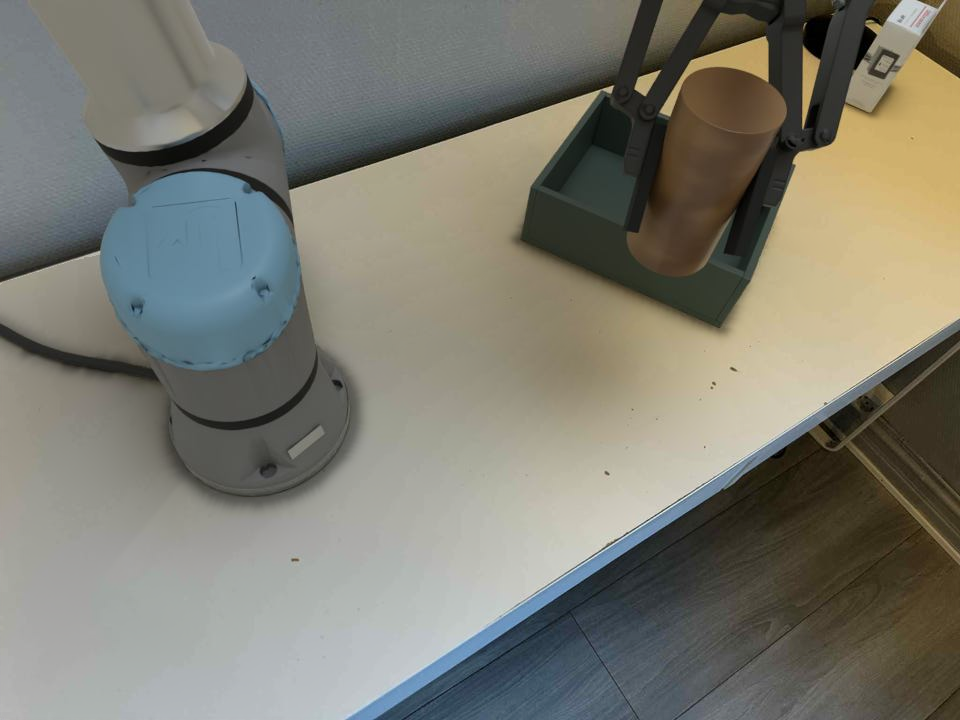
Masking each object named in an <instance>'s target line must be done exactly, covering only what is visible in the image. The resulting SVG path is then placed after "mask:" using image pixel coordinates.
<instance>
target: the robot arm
mask: <svg viewBox="0 0 960 720" xmlns="http://www.w3.org/2000/svg"><path fill="white" fill-rule="evenodd" d="M876 1H877V0H830V3H831V5H832V7H833V8H835V11H834V13H833V14H832V17H831V20H830V22H829V25H828V28H827V32H826V36H825V40H824V44H823V47H822V51H821V56H820V60H819V63H818V67H817V71H816V76H815V79H814V83H813V87H812V92H811V96H810V100H809V104H808V108H807V112H806V116H805V120H804V125H803V99H804V95H803V93H804V92H803V91H804V89H803V88H804V87H803V86H804V85H803V84H804V26H805V24H806V21H807V0H702V1H701V3H700V4H699V6H698V8H697V9H696V11H695V13H694V14H693V16H692V18H691V20H690V21H689V23H688V25H686V28H685V29H684V31H683V33H682V34H681V36H680V38H679V40H678V41H677V42H676V44H675V46H674V47H673V50H671V53H670V54H669V56H668V58H667V60H666V61H665V63H664V65H663V66H662V68H661V70H659V73H658V74H657V76H656V78H655V79H654V80H653V83H652V84H651V86H650V87H649V90H647V92H646V94H645V95H644V94H643V93H641V92H640V91H638V90H637V89H635V88H636V86H637V83H638V79H639V76H640V73H641V71H642V68H643V64H644V61H645V58H646V56H647V55H646V54H647V51H648V48H649V45H650V42H651V40H652V36H653V34H654V31H655V28H656V24H657V21H658V19H659V15H660V12H661V8H662V7H663V4H664V3H663V2H664V0H640V2H639V4H638V5H639V6H638V7H637V8H638V9H637V12H636V14H635V17H634V18H635V19H634V21H633V25H632V27H631V31H630V34H629V37H628V40H627V43H626V47H625V50H624V52H623V55H622V59H621V61H620V66H619V68H618V72H617V74H616V78H615V81H614V84H613V87H612V90H611V92H610V93H611V96H610V104H611V106H612V107H613V108H615V109H619V110H620V111H622V112H623V113H625V114H626V115H627V116H629V118H630V119H631V122H632V129H631V133H630V137H629V141H628V145H627V149H626V152H625V156H624V160H623V164H622V171H623V175H627V176H631V177H635V178H636V182H635V186H634V190H633V193H632V197H631V201H630V204H629V208H628V212H627V216H626V219H625V223H624V227H623V231H628V232H632V233H639V229H640V226H641V222H642V219H643V215H644V211H645V208H646V204H647V200H648V197H649V193H650V189H651V186H652V182H653V178H654V175H655V171H656V167H657V164H658V160H659V156H660V153H661V149H662V145H663V142H664V138H665V133H666V129H667V125H663V124H659V123H655V122H656V118H657V115H658V114H659V112H660V113H661V110H662V109H663V107H664V105H665V104H666V102H667V101H668V99H669V97H670V96H671V95H672V92H674V89H675V87H676V86H677V84H678V83H679V81H680V79H681V78H682V76H683V74H684V73H685V71H686V70H687V68H688V66H689V65H690V63H691V61H692V60H693V58H694V56H695V55H696V53H697V52H698V50H699V49H700V47H701V45H702V44H703V42H704V40H705V38H706V37H707V35H708V34H709V32H710V30H711V29H712V27H713V25H714V24H715V22H716V21H717V19H718V17H719V16H720V14H724V15H729V16H735V15H736V16H737V15H747V16H749V17H750V18H752V19H754V20H756V21H760V22H763V23H764V22H765V39H766V42H767V50H768V51H767V52H768V54H767V55H768V57H767V61H768V64H767V67H768V71H767V74H768V79H767V80H768V81H767V82H768V83H769V84H771V85H772V86H773V87H774V88H775V89H776V90H777V91H778V92H779V93H780V94H781V96H782V97H783V99H784V101H785V103H786V107H787V115H786V118H785V120H784V122H783V124H782V126H781V128H780V130H779V131H778V133H777V135H776V137H775V139H774V141H773V142H772V144H771V146H770V148H769V150H768V152H767V153H766V155H765V157H764V159H763V161H762V162H761V164H760V166H759V168H758V170H757V172H756V173H755V175H754V177H753V179H752V181H751V183H750V184H749V186H748V188H747V190H746V192H745V194H744V195H743V197H742V199H741V201H740V203H739V205H738V206H737V209H736V213H735V216H734V219H733V222H732V226H731V229H730V232H729V236H728V239H727V242H726V246H725V249H724V252H723V253H724V254H728V255H732V256H738V257H745V258H746V256H747V253H748V249H749V246H750V243H751V240H752V237H753V233H754V230H755V227H756V224H757V220H758V217H759V214H760V211H761V208H762V206H765V207H775V206H776V205H777V204H778V202H779V201H780V200H781V198H782V195H783V192H784V189H785V185H786V182H787V179H788V176H789V173H790V170H791V166H792V164H794V160H795V157H796V156H797V155H798V154H800V153H803V152H812V151H816V150H819V149H822V148H826V147H828V146H830V145H832V144H833V143H834V142H835V140H836V138H837V134H838V130H839V127H840V123H841V119H842V116H843V111H844V108H845V105H846V102H845V100H846V96H847V93H848V89H849V85H850V81H851V77H852V76H853V74H854V69H855V65H856V62H857V57H858V54H859V50H860V46H861V42H862V38H863V34H864V30H865V28H866V27H865V26H866V24H867V18H868V15H869V12H870V10H871V8H872V7H873V5H874V4H875V3H876ZM26 2H27V4H28V5H29V6H30V8H31V9H32V11H33V12H34V13H35V15H36V16H37V18H38V19H39V21H40V22H41V24H42V25H43V27H44V28H45V29H46V31H47V33H48V34H49V35H50V37H51V38H52V40H53V41H54V43H55V44H56V46H57V47H58V48H59V50H60V52H61V53H62V54H63V56H64V58H65V59H66V60H67V62H68V63H69V64H70V66H71V68H72V69H73V70H74V72H75V73H76V75H77V76H78V78H79V79H80V80H81V82H82V83H83V85H84V86H85V88H86V89H87V92H86V94H85V98H84V100H83V104H82V113H81V115H82V120H83V124H84V126H85V128H86V129H87V131H88V133H89V134H90V136H91V137H92V138H93V139H94V141H95V142H96V143H97V145H98V146H99V148H100V150H102V152H103V153H104V155H105V156H106V157H107V159H108V160H109V161H110V163H111V164H112V166H113V167H114V168H115V170H116V171H117V173H118V174H119V175H120V176H121V178H122V180H123V182H124V184H125V185H126V189H127V193H128V201H127V206H120V207H119V208H117V210H115V212H114V213H113V215H112V217H111V218H110V220H109V221H108V223H107V225H106V228H105V230H104V233H103V236H102V239H101V244H100V250H99V268H100V274H101V278H102V281H103V284H104V287H105V290H106V293H107V296H108V301H109V302H110V304H111V305H112V307H113V310H114V313H115V317H116V319H117V321H118V322H119V323H121V326H122V328H123V329H124V331H125V332H127V334H128V335H129V337H130V338H131V339H132V341H134V343H135V344H136V346H137V347H138V349H139V351H140V352H141V354H142V355H143V357H144V358H145V360H146V361H147V363H148V364H149V366H150V367H146V366H141V365H137V364H133V363H127V362H122V361H119V360H118V361H117V360H113V359H106V358H99V357H92V356H88V355H87V356H86V355H82V354H78V353H77V354H76V353H72V352H68V351H64V350H60V349H56V348H53V347H50V346H47V345H44V344H42V343H39V342H37V341H34V340H32V339H30V338H28V337H27V336H24V335H23V334H21V333H19V332H17V331H15V330H13V329H11V328H9V327H8V326H6V325H5V324H3V323H0V336H2V337H3V338H5V339H7V340H9V341H10V342H13V343H14V344H16V345H18V346H20V347H22V348H24V349H27V350H28V351H31V352H33V353H36V354H37V355H39V356H43V357H46V358H49V359H52V360H55V361H58V362H63V363H66V364H71V365H75V366H81V367H88V368H92V369H100V370H105V371H110V372H111V371H112V372H117V373H123V374H127V375H132V376H136V377H141V378H144V379H150V380H154V381H158V382H160V384H161V385H162V386H163V388H164V390H165V391H166V393H167V394H168V395H169V397H170V402H169V407H168V429H169V435H170V438H171V442H172V445H173V447H174V450H175V452H176V453H177V455H178V457H179V459H180V460H181V462H182V463H183V464H184V466H185V467H186V468H187V469H188V471H189V472H190V473H191V474H192V475H193V476H194V477H195V478H197V479H198V480H199V481H200V482H202V483H203V484H205V485H206V486H208V487H211V488H213V489H215V490H217V491H219V492H223V493H228V494H231V495H236V496H247V497H254V496H255V497H257V496H266V495H272V494H276V493H279V492H283V491H285V490H288V489H291V488H293V487H296V486H298V485H300V484H302V483H303V482H305V481H307V480H309V479H311V478H312V477H313V476H314V475H317V473H319V472H320V471H321V470H322V469H323V468H324V467H325V466H326V465H327V464H328V463H329V462H330V461H331V459H333V457H334V456H335V455H336V453H337V452H338V450H339V449H340V447H341V445H342V443H343V442H344V439H345V436H346V434H347V430H348V427H349V422H350V411H351V409H350V401H349V394H348V389H347V385H346V382H345V380H344V377H343V375H342V374H341V372H340V369H339V368H338V367H337V365H336V363H335V362H334V361H333V360H332V358H330V356H329V355H327V353H326V352H325V351H324V350H323V349H322V348H321V347H320V346H319V345H318V344H317V343H316V339H315V335H314V330H313V326H312V322H311V316H310V312H309V308H308V303H307V298H306V292H305V286H304V280H303V274H302V265H301V257H300V254H299V248H298V243H297V235H296V230H295V223H294V215H293V214H294V213H293V208H292V207H293V206H292V201H291V193H290V188H289V186H290V185H289V179H288V173H287V166H286V155H285V154H286V152H285V151H286V150H285V139H284V135H283V131H282V127H281V124H280V122H279V120H278V117H277V115H276V112H275V111H274V108H273V106H272V104H271V102H270V101H269V99H268V97H267V96H266V94H265V92H264V91H263V90H262V89H261V88H260V86H259V85H258V84H257V83H256V82H255V81H254V80H252V79H251V77H249V73H247V70H246V68H245V65H244V64H243V62H242V60H241V59H240V58H239V56H238V55H237V54H236V52H234V50H231V49H230V48H229V47H226V46H224V45H223V44H220V43H217V42H214V41H211V40H209V39H208V36H207V35H206V32H205V30H204V28H203V26H202V24H201V22H200V20H199V18H198V16H197V13H196V11H195V8H194V7H193V5H192V3H191V0H26Z"/></svg>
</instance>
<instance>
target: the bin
mask: <svg viewBox="0 0 960 720" xmlns="http://www.w3.org/2000/svg"><path fill="white" fill-rule="evenodd" d="M611 93H612V92H608V91H605V90H603V89H601V90H600V92H599V93H598V94H597V95H596V97H595V98H594V100H593V101H592V102H591V104H590V105H589V106H588V108H587V109H586V111H584V113H583V114H582V116H581V117H580V119H579V120H578V121H577V123H576V124H575V126H574V127H573V128H572V130H571V131H570V132H569V134H568V135H567V136H566V138H565V139H564V141H563V142H562V143H561V144H560V146H559V147H558V149H557V150H555V151H556V152H554V154H553V155H552V156H551V158H550V159H549V161H548V162H547V164H546V165H545V166H544V168H543V169H542V170H541V172H540V173H539V174H538V176H537V177H536V179H535V180H534V181H533V183H532V184H531V185H530V188H529V193H528V198H527V202H526V203H527V204H526V208H525V214H524V218H523V223H522V229H521V235H520V240H521V241H523V242H525V243H528V244H530V245H532V246H535V247H537V248H539V249H541V250H544V251H546V252H548V253H551V254H552V255H555V256H557V257H559V258H562V259H564V260H566V261H569V262H571V263H573V264H575V265H577V266H580V267H582V268H585V269H586V270H589V271H591V272H593V273H595V274H598V275H599V276H602V277H604V278H607V279H609V280H611V281H613V282H614V283H615V282H616V283H618V284H620V285H622V286H625V287H626V288H629V289H632V290H634V291H636V292H638V293H640V294H642V295H645V296H647V297H650V298H651V299H653V300H656V301H657V302H660V303H662V304H664V305H667V306H669V307H672V308H674V309H676V310H678V311H681V312H683V313H685V314H687V315H690V316H691V317H694V318H696V319H699V320H701V321H703V322H705V323H708V324H710V325H712V326H715V327H716V328H721V327H722V326H723V324H724V322H725V321H726V319H727V318H728V316H729V315H730V314H731V312H732V310H733V309H734V307H735V306H736V304H737V303H738V301H739V299H741V296H743V293H744V292H745V290H747V287H749V284H750V283H751V281H752V279H753V276H754V273H755V271H756V268H757V267H758V263H759V261H760V258H761V256H762V253H763V250H764V248H765V245H766V243H767V241H768V238H769V236H770V233H771V230H772V228H773V225H774V223H775V220H776V218H777V215H778V213H779V210H780V208H781V205H782V202H783V199H784V197H785V195H786V193H787V190H788V187H789V185H790V182H791V180H792V177H793V174H794V171H795V170H796V167H797V164H795V163H792V166H791V170H790V173H789V176H788V179H787V182H786V185H785V189H784V192H783V195H782V198H781V200H780V201H779V202H778V204H777V205H776V206H775V207H765V206H762V208H761V211H760V214H759V217H758V220H757V224H756V227H755V230H754V233H753V237H752V240H751V243H750V246H749V249H748V253H747V256H746V258H745V257H738V256H732V255H728V254H724V253H723V252H724V249H725V246H726V242H727V239H728V236H729V232H730V229H731V226H732V222H733V219H734V216H735V213H736V210H735V212H734V214H733V216H732V217H731V219H730V221H729V223H728V225H727V227H726V228H725V230H724V232H723V234H722V236H721V238H720V239H719V241H718V243H717V245H716V247H715V249H714V250H713V252H712V254H711V256H710V258H709V260H708V261H707V263H706V265H705V266H704V267H703V268H702V269H700V270H699V271H697V272H695V273H693V274H690V275H687V276H667V275H663V274H659V273H656V272H654V271H652V270H650V269H648V268H646V267H645V266H643V265H642V264H641V263H639V262H638V261H637V260H636V259H635V257H634V256H633V255H632V253H631V252H630V250H629V247H628V244H627V232H628V231H623V227H624V223H625V219H626V216H627V212H628V208H629V204H630V201H631V197H632V193H633V190H634V186H635V182H636V178H635V177H631V176H627V175H623V171H622V164H623V160H624V156H625V152H626V149H627V145H628V141H629V137H630V133H631V129H632V122H631V119H630V118H629V116H627V115H626V114H625V113H623V112H622V111H620V110H619V109H615V108H613V107H612V106H611V104H610V96H611ZM670 116H671V115H667V114H665V113H662V112H661V111H660V112H659V114H658V115H657V118H656V122H655V123H659V124H663V125H667V124H668V121H669V118H670ZM736 209H737V208H736Z"/></svg>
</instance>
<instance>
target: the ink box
mask: <svg viewBox="0 0 960 720" xmlns="http://www.w3.org/2000/svg"><path fill="white" fill-rule="evenodd" d="M947 1H948V0H943V1H942V3H941V4H940V5H939V7H938V8H937V7H933V6H932V5H930V4H927V3H924V2H922V1H919V0H901V1H900V2H899V3H898V4H897V6H896V7H895V8H894V9H893V11H892V12H891V13H890V15H888V17H887V18H886V20H885V22H884V24H883V25H882V27H881V28H880V30H879V31H878V33H877V35H876V37H875V38H874V39H873V42H871V43H872V44H871V45H870V46H869V48H868V50H867V51H866V53H865V55H864V57H863V58H862V59H861V61H860V63H859V64H858V66H857V68H856V69H855V71H854V72H853V73H852V77H851V81H850V85H849V89H848V93H847V96H846V100H845V104H849V105H851V106H853V107H855V108H857V109H859V110H862V111H864V112H866V113H872V112H873V110H874V109H875V107H876V106H877V104H879V102H880V100H881V99H882V97H883V96H884V95H885V93H886V91H887V90H889V87H890V86H891V84H892V83H893V81H894V80H895V79H896V77H897V75H898V74H899V72H900V71H901V70H902V68H903V67H904V65H905V64H906V62H907V60H908V59H909V57H910V56H911V55H912V53H913V52H914V50H915V49H916V47H917V46H918V44H919V43H920V41H921V40H922V38H923V37H924V35H925V34H926V33H927V31H928V30H929V28H930V27H931V25H932V23H933V22H934V20H935V19H936V17H937V16H938V14H939V13H940V11H941V10H942V8H943V7H944V6H945V4H946V2H947Z"/></svg>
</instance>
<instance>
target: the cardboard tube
mask: <svg viewBox="0 0 960 720" xmlns="http://www.w3.org/2000/svg"><path fill="white" fill-rule="evenodd" d="M786 115H787V107H786V103H785V101H784V99H783V97H782V96H781V94H780V93H779V92H778V91H777V90H776V89H775V88H774V87H773V86H772V85H771V84H769V83H768V81H766V80H765V79H763V78H762V77H760V76H758V75H756V74H754V73H751V72H749V71H746V70H743V69H739V68H734V67H728V66H727V67H726V66H710V67H704V68H701V69H698V70H695V71H693V72H692V73H690V74H689V75H688V76H686V77H685V79H684V80H683V82H682V84H681V87H680V89H679V92H678V94H677V97H676V99H675V103H674V105H673V108H672V110H671V113H670V115H669V116H670V118H669V121H668V124H667V129H666V133H665V138H664V142H663V145H662V149H661V153H660V156H659V160H658V164H657V167H656V171H655V175H654V178H653V182H652V186H651V189H650V193H649V197H648V200H647V204H646V208H645V211H644V215H643V219H642V222H641V226H640V229H639V233H632V232H627V244H628V247H629V250H630V252H631V253H632V255H633V256H634V257H635V259H636V260H637V261H638V262H639V263H641V264H642V265H643V266H645V267H646V268H648V269H650V270H652V271H654V272H656V273H659V274H663V275H667V276H687V275H690V274H693V273H695V272H697V271H699V270H700V269H702V268H703V267H704V266H705V265H706V263H707V261H708V260H709V258H710V256H711V254H712V252H713V250H714V249H715V247H716V245H717V243H718V241H719V239H720V238H721V236H722V234H723V232H724V230H725V228H726V227H727V225H728V223H729V221H730V219H731V217H732V216H733V214H734V212H735V210H736V208H737V206H738V205H739V203H740V201H741V199H742V197H743V195H744V194H745V192H746V190H747V188H748V186H749V184H750V183H751V181H752V179H753V177H754V175H755V173H756V172H757V170H758V168H759V166H760V164H761V162H762V161H763V159H764V157H765V155H766V153H767V152H768V150H769V148H770V146H771V144H772V142H773V141H774V139H775V137H776V135H777V133H778V131H779V130H780V128H781V126H782V124H783V122H784V120H785V118H786Z"/></svg>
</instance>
